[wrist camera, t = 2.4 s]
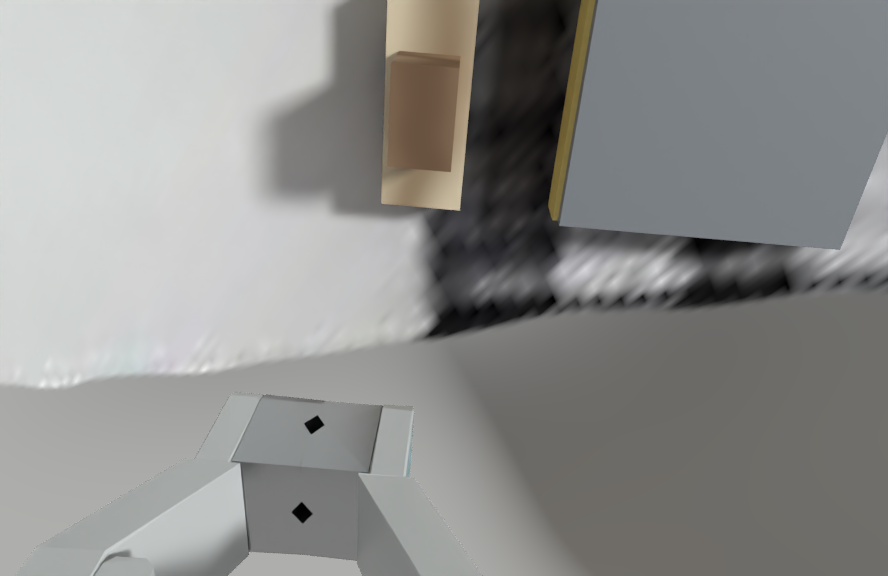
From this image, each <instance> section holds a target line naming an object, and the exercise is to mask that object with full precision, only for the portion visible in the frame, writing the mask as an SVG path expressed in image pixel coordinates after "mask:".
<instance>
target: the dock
mask: <svg viewBox="0 0 888 576" xmlns="http://www.w3.org/2000/svg"><path fill="white" fill-rule="evenodd" d="M887 132H888V0H581V4H580V10H579V17H578V23H577V29H576V35H575V41H574V48H573V54H572V60H571V66H570V72H569V79H568V85H567V91H566V97H565V103H564V110H563V116H562V122H561V128H560V134H559V141H558V147H557V153H556V159H555V165H554V172H553V178H552V184H551V190H550V196H549V202H548V207H549V211H550V214H551V217H552V220H556V221H558V224H559V226H566V227H578V228H590V229H602V230H613V231H625V232H637V233H649V234H660V235H672V236H684V237H696V238H707V239H719V240H731V241H743V242H754V243H766V244H778V245H790V246H801V247H813V248H825V249H837V250H840V248H841V246H842V243H843V241H844V238H845V236H846V233H847V231H848V228H849V226H850V224H851V221H852V219H853V216H854V214H855V211H856V209H857V206H858V204H859V201H860V199H861V196H862V194H863V191H864V189H865V186H866V184H867V181H868V179H869V176H870V174H871V172H872V169H873V167H874V164H875V162H876V159H877V157H878V154H879V152H880V149H881V147H882V144H883V142H884V139H885V137H886V134H887Z"/></svg>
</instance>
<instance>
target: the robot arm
mask: <svg viewBox="0 0 888 576" xmlns="http://www.w3.org/2000/svg"><path fill="white" fill-rule="evenodd" d="M413 423H414V408H413V407H412V406H395V405H384V406H382V405H369V404H356V403H344V402H332V401H323V400H314V399H304V398H294V397H286V396H275V395H267V394H266V395H263V394H254V393H243V392H234V393H233V394H232V395H230V396H229V397H228V399H227V401H226V403H225V404H224V406H223V408H222V410H221V412H220V413H219V415H218V417H217V419H216V421H215V422H214V424H213V426H212V428H211V430H210V431H209V433H208V435H207V437H206V439H205V441H204V442H203V444H202V446H201V448H200V449H199V451H198V453H197V455H196V457H195V458H194V459H187V458H185V459H183V460H181V461H180V462H178V463H176V464H175V465H173V466H171V467H170V468H168V469H166V470H165V471H163V472H161V473H160V474H158V475H156V476H154V477H153V478H151V479H150V480H148V481H146V482H144V483H143V484H141V485H139V486H138V487H136V488H135V489H133V490H131V491H129V492H128V493H126V494H124V495H123V496H121V497H119V498H117V499H116V500H114V501H112V502H111V503H109V504H107V505H106V506H104V507H103V508H101V509H99V510H97V511H96V512H94V513H92V514H91V515H89V516H87V517H86V518H84V519H82V520H80V521H79V522H77V523H75V524H74V525H72V526H71V527H69V528H67V529H65V530H64V531H62V532H60V533H59V534H57V535H55V536H54V537H52V538H50V539H49V540H47V541H45V542H43V543H42V544H40V545H38V546H37V547H36V548H35V550H34V551H33V552H32V554H31V555H30V556H29V558H28V559H27V560H26V562H25V563H24V564H23V566H22V567H21V568H20V570H19V571H18V572H17V574H16V575H15V576H228V575H229V573H231V572H232V571H233V570H234V569H235V568H236V567H237V566H238V565H239V564H240V563H241V562H242V561H243V560H244V559H245V558H246V557H247V556H248V555H249V552H264V553H282V554H300V555H301V554H302V555H310V556H321V557H329V558H338V559H346V560H355V561H357V564H358V567H359V569H360V571H361V574H362V576H482V574H481V573H480V571H479V570H478V568H477V567H476V566H475V564H474V563H473V561H472V560H471V559H470V557H469V555H468V554H467V552H466V551H465V550H464V548H463V547H462V545H461V544H460V543H459V541H458V540H457V538H456V537H455V535H454V534H453V532H452V531H451V529H450V528H449V527H448V525H447V524H446V522H445V521H444V520H443V518H442V516H441V515H440V514H439V512H438V511H437V509H436V508H435V506H434V505H433V504H432V502H431V501H430V499H429V498H428V496H427V495H426V493H425V492H424V491H423V489H422V488H421V486H420V485H419V483H418V482H417V480H416V479H415V478H413V477H410V465H411V451H412V437H413Z"/></svg>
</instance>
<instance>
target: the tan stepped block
mask: <svg viewBox="0 0 888 576" xmlns="http://www.w3.org/2000/svg"><path fill="white" fill-rule="evenodd" d="M478 8H479V0H387V29H386V61H385V94H384V126H383V158H382V191H381V204H390V205H402V206H414V207H426V208H437V209H449V210H460V202H461V191H462V180H463V170H464V159H465V148H466V137H467V126H468V116H469V105H470V94H471V83H472V73H473V62H474V51H475V40H476V30H477V19H478ZM399 51H408V52H419V53H431V54H443V55H454V56H461V58H460V70H459V82H458V94H457V106H456V118H455V129H454V141H453V153H452V165H451V172H443V171H431V170H419V169H407V168H395V167H387V159H388V130H389V102H390V73H391V61H392V60H393V59H394V57H395V56H396V55H397V53H398V52H399Z"/></svg>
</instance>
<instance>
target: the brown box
mask: <svg viewBox="0 0 888 576" xmlns="http://www.w3.org/2000/svg"><path fill="white" fill-rule="evenodd" d="M460 58H461V56H454V55H443V54H431V53H419V52H408V51H399V52H398V53H397V55H396V56H395V57H394V59H393V60H392V61H391V73H390V102H389V130H388V159H387V167H395V168H407V169H419V170H431V171H443V172H451V165H452V153H453V141H454V129H455V118H456V106H457V94H458V82H459V70H460Z"/></svg>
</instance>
